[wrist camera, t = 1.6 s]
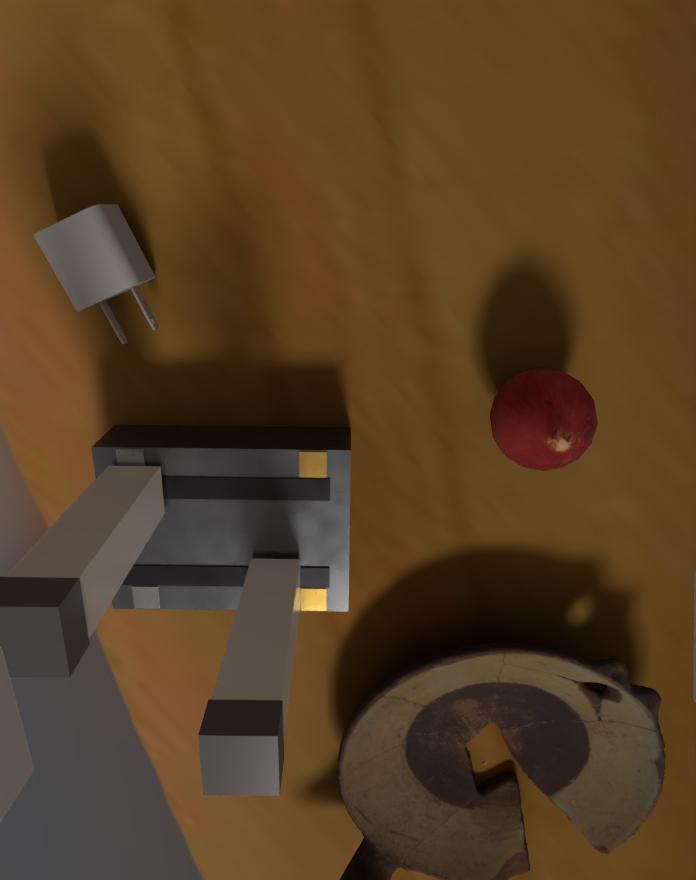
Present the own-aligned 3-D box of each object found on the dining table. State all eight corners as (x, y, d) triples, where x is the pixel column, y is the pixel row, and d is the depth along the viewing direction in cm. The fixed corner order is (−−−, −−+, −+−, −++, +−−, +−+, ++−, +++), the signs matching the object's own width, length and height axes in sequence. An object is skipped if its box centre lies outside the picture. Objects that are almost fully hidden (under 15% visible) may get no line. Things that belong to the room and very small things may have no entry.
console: (115, 424, 41) (90, 447, 37) (350, 427, 41) (351, 450, 37) (133, 574, 44) (112, 609, 40) (348, 577, 44) (348, 612, 41)
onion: (583, 364, 39) (639, 401, 32) (557, 450, 41) (604, 504, 34) (491, 348, 39) (526, 382, 31) (469, 436, 41) (496, 487, 33)
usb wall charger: (121, 204, 36) (94, 204, 32) (180, 316, 38) (161, 328, 35) (61, 233, 37) (28, 236, 33) (122, 343, 39) (97, 357, 35)
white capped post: (249, 557, 39) (198, 735, 26) (301, 557, 39) (277, 736, 26) (251, 601, 40) (203, 795, 27) (302, 602, 40) (279, 795, 27)
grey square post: (106, 464, 37) (-29, 606, 24) (162, 464, 37) (58, 607, 24) (112, 514, 38) (-13, 676, 25) (166, 514, 38) (70, 677, 25)
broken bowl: (679, 775, 51) (734, 869, 44) (340, 888, 55) (338, 990, 48) (592, 553, 44) (640, 620, 37) (212, 702, 48) (189, 788, 41)
